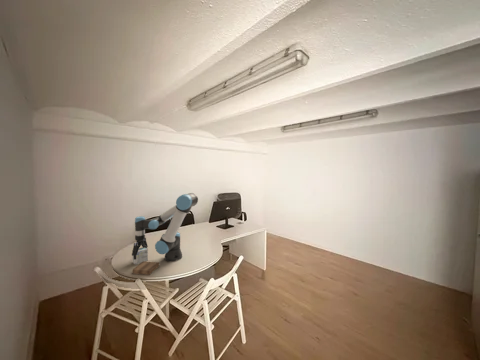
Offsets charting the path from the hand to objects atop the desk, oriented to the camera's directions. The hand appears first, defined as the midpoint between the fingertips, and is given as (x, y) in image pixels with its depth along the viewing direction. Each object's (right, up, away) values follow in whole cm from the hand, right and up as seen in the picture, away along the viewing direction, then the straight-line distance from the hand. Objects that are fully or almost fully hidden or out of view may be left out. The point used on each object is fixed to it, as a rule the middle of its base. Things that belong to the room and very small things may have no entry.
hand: (140, 259), depth 170 cm
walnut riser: (+12, -3, -14) cm, 18 cm away
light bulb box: (0, -2, 0) cm, 2 cm away
